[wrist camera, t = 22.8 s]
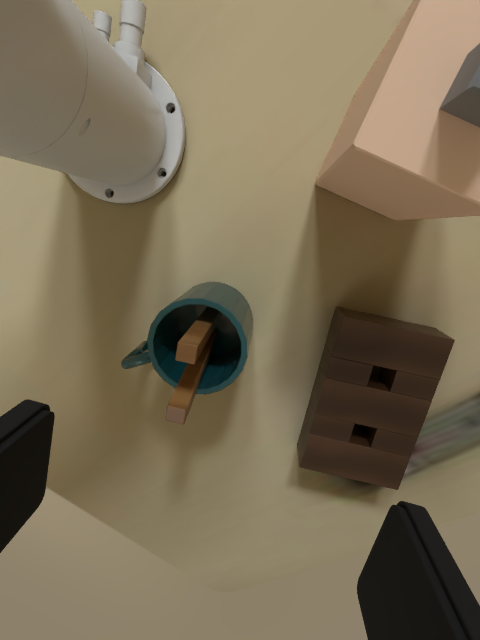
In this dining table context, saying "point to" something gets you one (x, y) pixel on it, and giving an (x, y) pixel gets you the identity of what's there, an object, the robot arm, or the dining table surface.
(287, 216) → the dining table surface
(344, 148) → the soap dispenser
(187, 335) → the stirrer
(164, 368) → the mug
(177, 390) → the stirrer
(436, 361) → the stirrer stand
